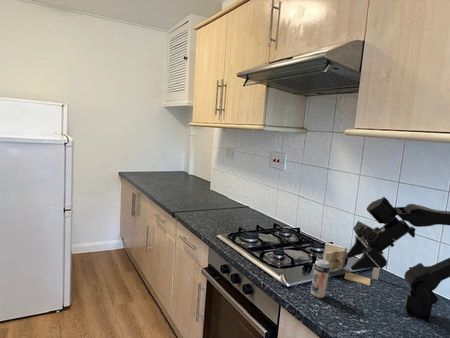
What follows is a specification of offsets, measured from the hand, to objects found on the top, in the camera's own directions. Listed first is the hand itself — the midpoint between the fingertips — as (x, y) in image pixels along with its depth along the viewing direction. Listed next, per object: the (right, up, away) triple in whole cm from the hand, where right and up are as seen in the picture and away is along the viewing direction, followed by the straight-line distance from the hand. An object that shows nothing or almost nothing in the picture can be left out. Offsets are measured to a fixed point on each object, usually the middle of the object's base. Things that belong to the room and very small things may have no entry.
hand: (349, 262), depth 104 cm
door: (+2, -9, +20) cm, 22 cm away
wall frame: (+9, -10, +23) cm, 27 cm away
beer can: (-10, -12, +3) cm, 15 cm away
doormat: (+10, -11, +17) cm, 22 cm away
